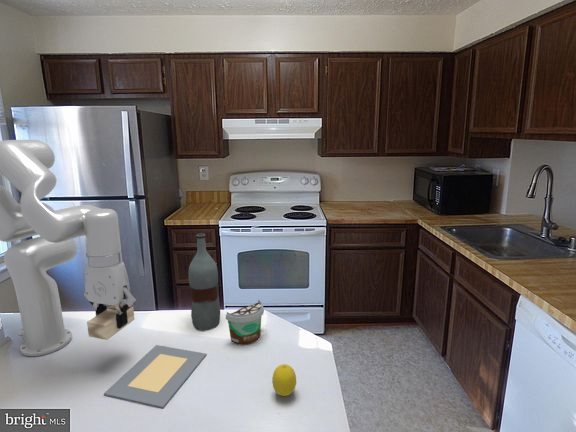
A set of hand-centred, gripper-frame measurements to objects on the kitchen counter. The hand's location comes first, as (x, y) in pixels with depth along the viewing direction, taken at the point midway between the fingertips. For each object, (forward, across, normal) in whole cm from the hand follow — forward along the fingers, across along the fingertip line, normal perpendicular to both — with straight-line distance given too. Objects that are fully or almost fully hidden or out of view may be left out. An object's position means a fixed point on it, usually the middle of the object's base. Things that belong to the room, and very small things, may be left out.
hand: (112, 323), depth 91 cm
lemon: (+11, +47, 0) cm, 48 cm away
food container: (+11, +31, +19) cm, 38 cm away
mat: (+11, +14, -1) cm, 18 cm away
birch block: (+1, 0, 0) cm, 1 cm away
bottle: (+12, +14, +24) cm, 30 cm away
